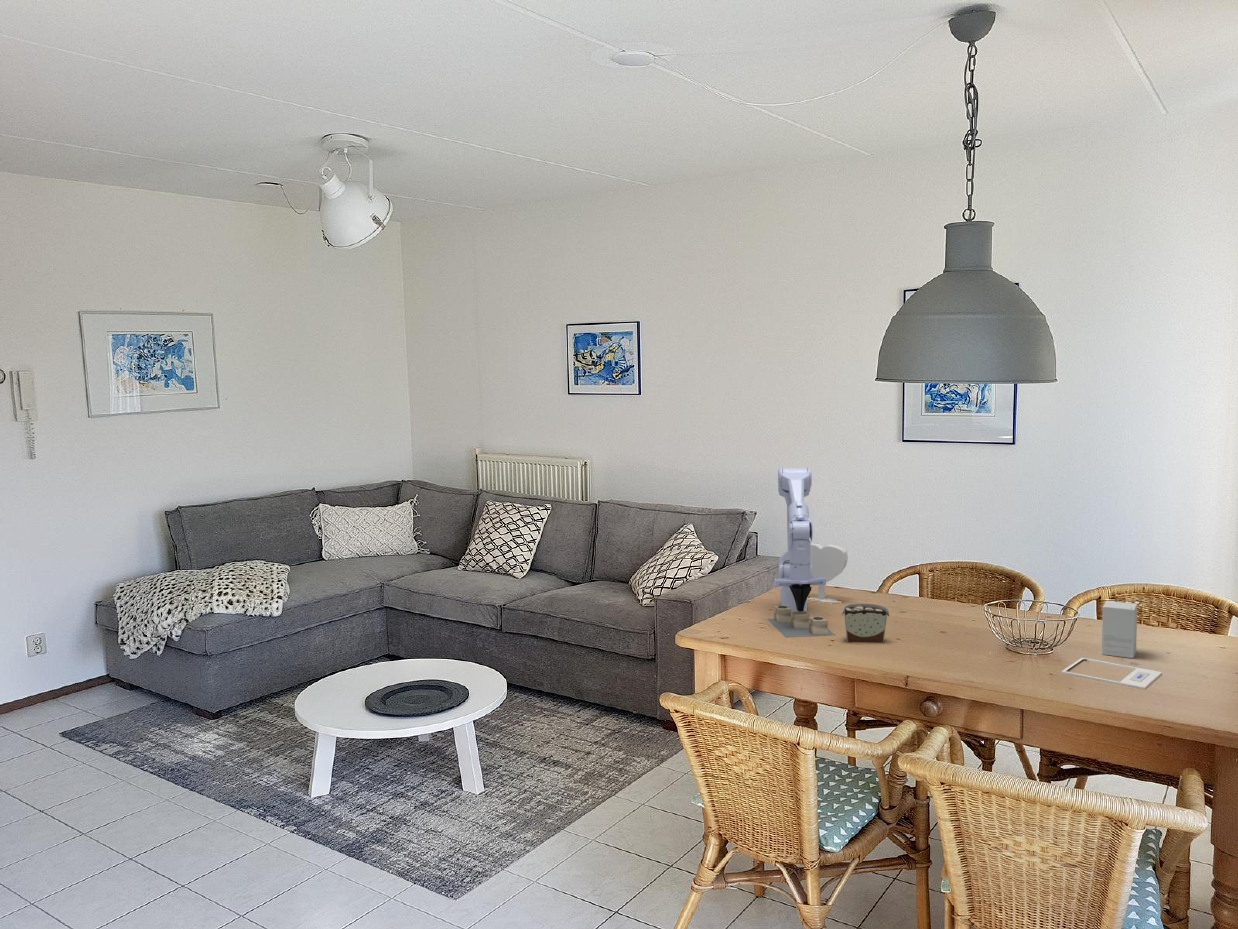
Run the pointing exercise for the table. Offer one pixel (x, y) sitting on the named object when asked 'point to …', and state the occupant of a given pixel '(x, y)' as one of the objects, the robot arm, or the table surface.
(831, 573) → the heart sculpture
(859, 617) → the food container
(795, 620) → the plain block
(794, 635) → the tapping mat
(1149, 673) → the photo frame
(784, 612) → the dotted block
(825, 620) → the dotted block
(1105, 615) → the supplement box
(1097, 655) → the table surface
